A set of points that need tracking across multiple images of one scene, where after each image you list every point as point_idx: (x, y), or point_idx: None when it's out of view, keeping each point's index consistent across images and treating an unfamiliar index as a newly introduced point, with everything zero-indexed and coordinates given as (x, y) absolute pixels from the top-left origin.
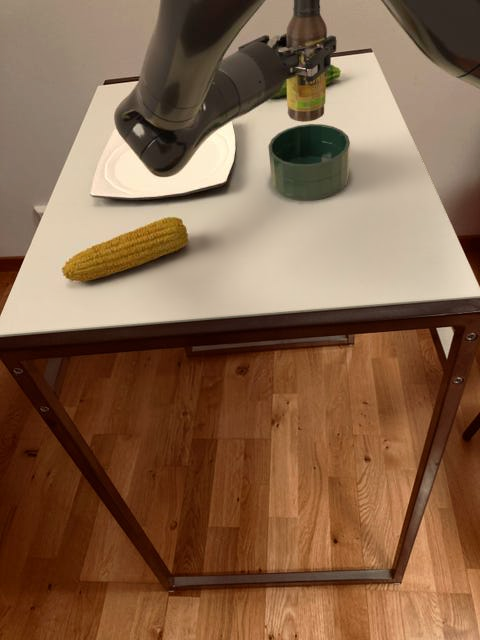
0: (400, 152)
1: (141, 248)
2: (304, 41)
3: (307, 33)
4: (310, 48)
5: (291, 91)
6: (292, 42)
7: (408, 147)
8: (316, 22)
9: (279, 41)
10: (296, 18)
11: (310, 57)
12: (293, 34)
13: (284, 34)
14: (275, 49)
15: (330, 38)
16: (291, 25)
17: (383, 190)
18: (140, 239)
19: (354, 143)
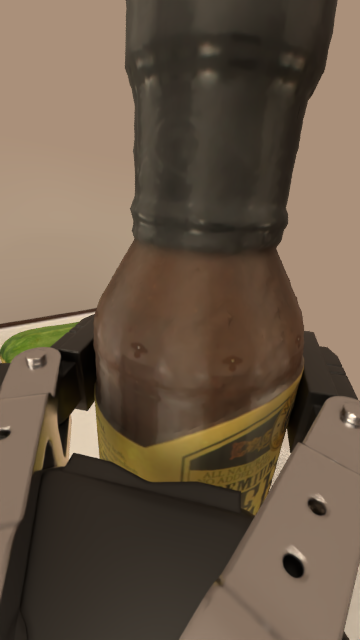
0: (281, 465)
1: None
2: (249, 396)
3: (266, 350)
4: (351, 468)
5: None
6: (159, 403)
7: (283, 449)
8: (286, 283)
9: (58, 388)
10: (175, 262)
11: (263, 457)
12: (168, 360)
13: (75, 335)
14: (41, 535)
15: (318, 347)
16: (138, 304)
17: (348, 617)
18: None
19: None
